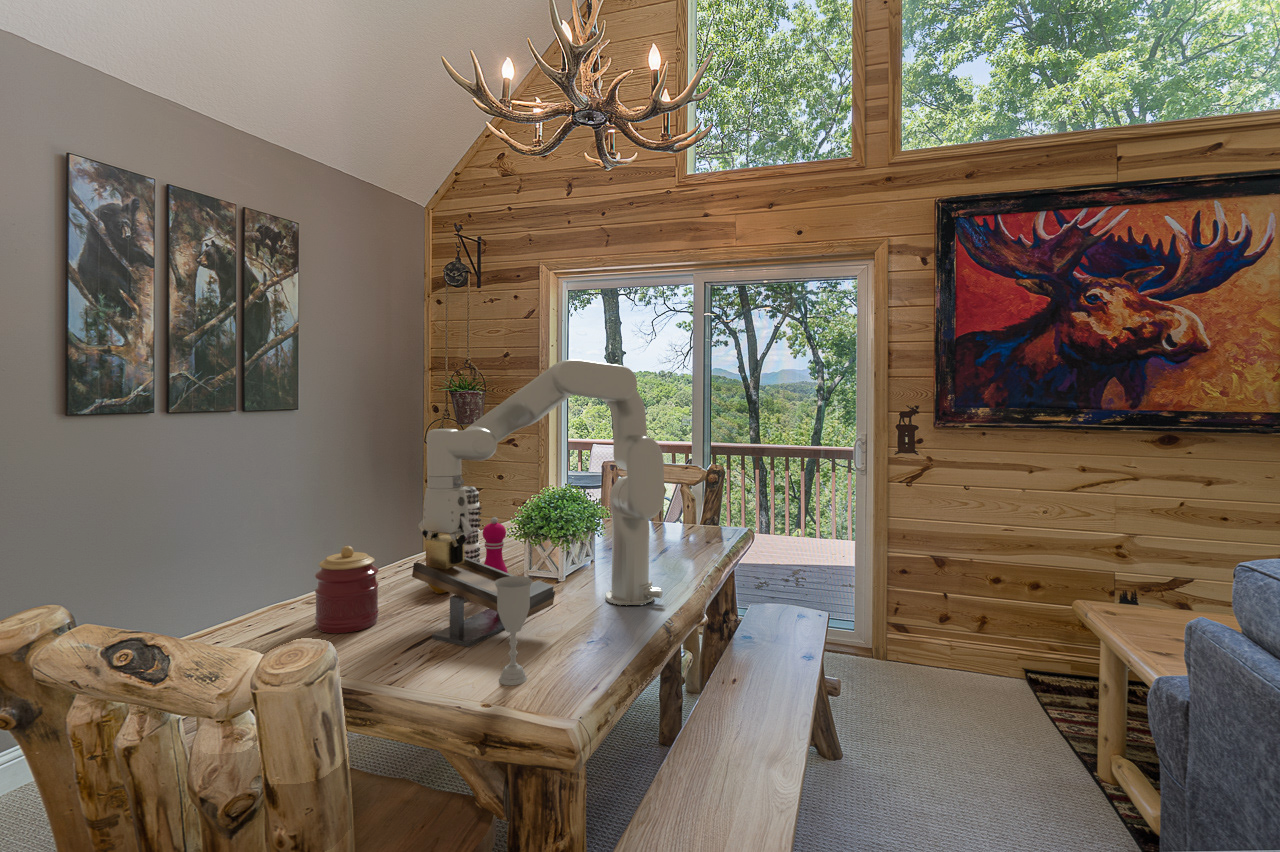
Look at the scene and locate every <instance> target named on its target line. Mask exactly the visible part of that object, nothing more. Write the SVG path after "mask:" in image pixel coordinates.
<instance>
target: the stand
mask: <svg viewBox="0 0 1280 852" xmlns="http://www.w3.org/2000/svg"><path fill="white" fill-rule="evenodd" d="M501 631H505V628H504V626H503V624H502V622H501V620H500V617H499V614H498V612H496V611H494V610H492V609H489V608H487V609H485V610H483V611H481V612H479V613H476V614H474V615H472V616H469V617H467V618H465V603H464V597H463V596H458V595H455V594H453V595H451V596H449V625H448V626H447V627H445V628H443V629H440V630H438V631H436V632H434V633H432V634H431V639H432V640H436V641H439V642H443V643H448V644H454V645H456V646H457V645H458V646H462V647H466V648H470V647H472V646H475V645H476V644H479V643H480V642H483V641H484V640H486V639H488V638H490V637H492V636H494V635H496V634H498V633H501Z"/></svg>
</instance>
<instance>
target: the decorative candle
mask: <svg viewBox="0 0 1280 852" xmlns="http://www.w3.org/2000/svg"><path fill="white" fill-rule="evenodd" d="M462 489H465V493H466V497H467V503H468V512H469V525H470V526H471V527H472V529H473V533H472V534H471V535H470V536H469V538H468V539H467V540H466V541H465V544H464V552H465V557H466V558H469V559H471V560H474V561H477V562H479V563H481V559H480V556H481V553H480V550H481V547H480V541H479V537H480V536H479V534H480V533H481V530H480V529H479V528H480V527H481V526H482V525H481V524H480V522H481V521H482V519H481V518H480V517H479V516H481V515H482V512H481V510H482V509H483V507H482V506H481V505H480V501H479V499H480V498H479V497H480V496H479V493H480V491H478V490H477V488H476V487H475V486H467V485H462ZM462 533H464V531H462ZM456 536H457V537H458V535H456Z"/></svg>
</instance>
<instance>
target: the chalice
mask: <svg viewBox="0 0 1280 852" xmlns="http://www.w3.org/2000/svg"><path fill="white" fill-rule="evenodd" d="M532 582H533V583H534V581H533V579H532V578H531V577H528V576H522V575H514V576H509V577H503V578H500V579H498V580H496V581H495V585H496V587H497V610H498V614H499V617H500V620H501V622H502V624H503V626H504V628H505V629H504V631H506V633H510V640H509V642H508V644H509V646H510V650H509V651H508V653H507V654H508V655H509V657H510V662H509V663H508V664H507V665H505V666H504V667H503V669H502V672H501V673H500V677H499V679H498V682H499V683H500V684H501V685H505V686H518V685H521V684H524V683H525V682H526V681H527V679H528V678H527V677H528V676H527V675H526V673H525V670H524V667H523V666H522V665H521V664H519V663H518V662H517V661H516V658H517V655H518V654H519V652H518V651H517V649H516V648H517V644H518V643H519V642H518V641H517V637H516V636H517V633H518V632H520V631H521V630H522V629H523V626H524V624H525V622H526V619H528V618H527V615H528V611H529V608H530V586H531V584H532Z"/></svg>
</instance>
